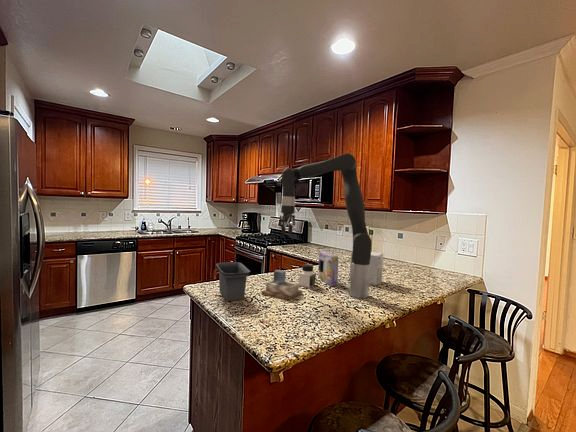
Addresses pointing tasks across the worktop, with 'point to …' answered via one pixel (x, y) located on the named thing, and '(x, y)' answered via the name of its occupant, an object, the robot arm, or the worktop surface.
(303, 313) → the worktop surface
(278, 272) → the bracket
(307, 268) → the medicine bottle
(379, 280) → the supplement box
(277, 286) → the well block
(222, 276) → the storage bin
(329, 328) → the worktop surface
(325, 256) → the cake pan box
